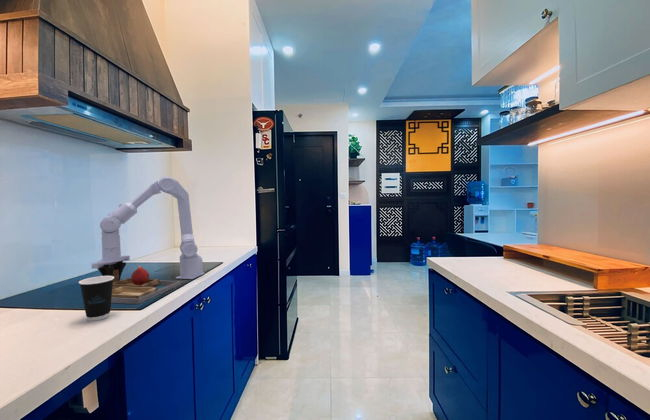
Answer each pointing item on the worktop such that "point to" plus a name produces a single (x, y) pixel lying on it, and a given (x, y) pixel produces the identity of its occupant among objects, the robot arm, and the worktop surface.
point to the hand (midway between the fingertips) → (112, 282)
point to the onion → (140, 276)
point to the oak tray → (132, 292)
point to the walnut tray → (129, 283)
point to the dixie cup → (97, 296)
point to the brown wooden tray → (139, 300)
